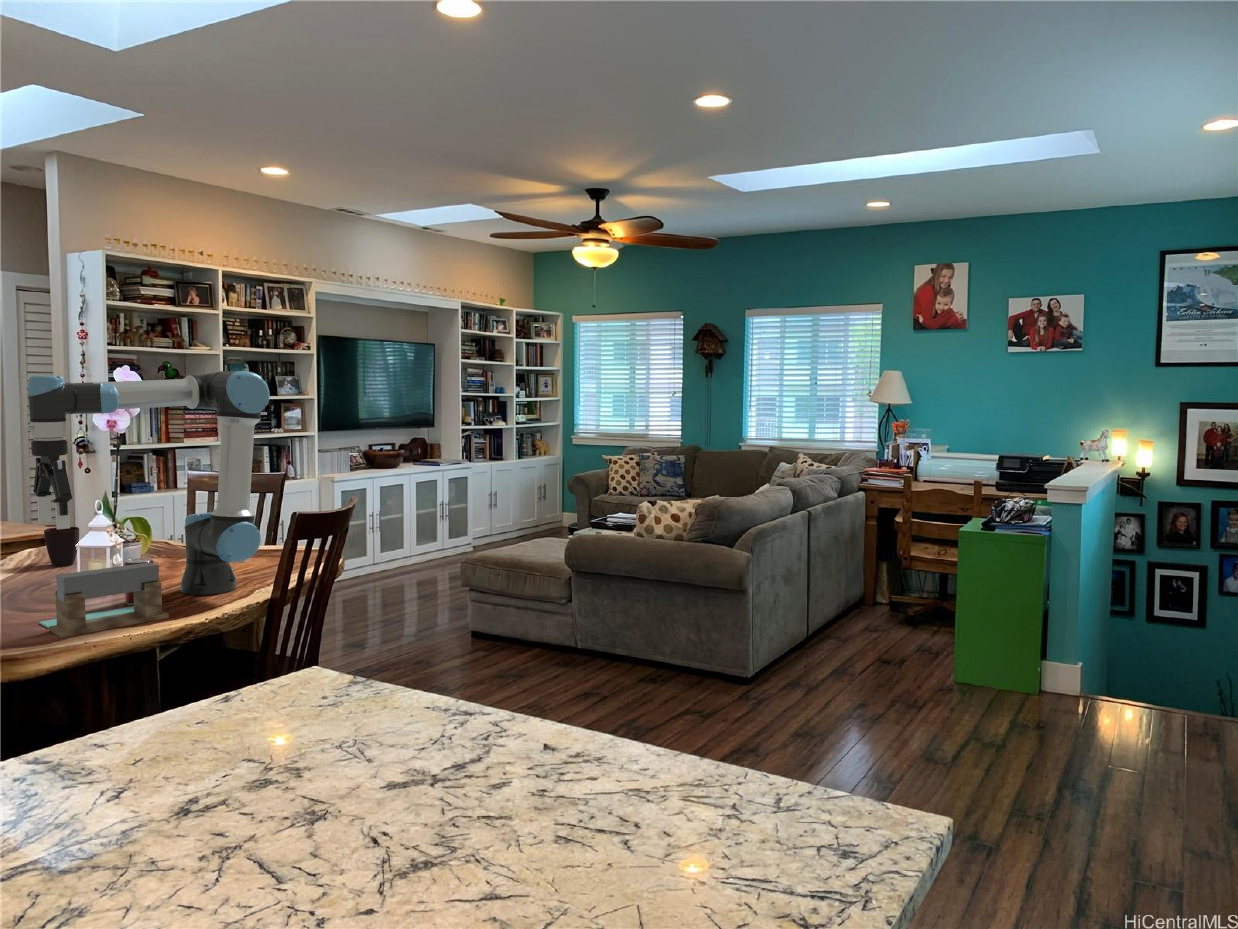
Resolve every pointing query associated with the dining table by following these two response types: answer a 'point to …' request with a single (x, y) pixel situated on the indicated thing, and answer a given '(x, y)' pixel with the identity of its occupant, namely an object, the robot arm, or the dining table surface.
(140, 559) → the soda can
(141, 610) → the stand
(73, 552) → the cup
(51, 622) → the mat
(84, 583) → the rail
